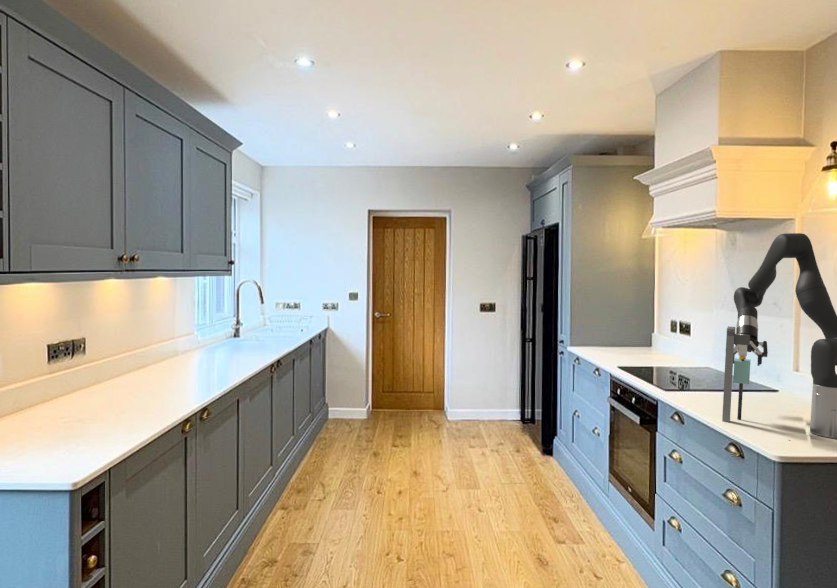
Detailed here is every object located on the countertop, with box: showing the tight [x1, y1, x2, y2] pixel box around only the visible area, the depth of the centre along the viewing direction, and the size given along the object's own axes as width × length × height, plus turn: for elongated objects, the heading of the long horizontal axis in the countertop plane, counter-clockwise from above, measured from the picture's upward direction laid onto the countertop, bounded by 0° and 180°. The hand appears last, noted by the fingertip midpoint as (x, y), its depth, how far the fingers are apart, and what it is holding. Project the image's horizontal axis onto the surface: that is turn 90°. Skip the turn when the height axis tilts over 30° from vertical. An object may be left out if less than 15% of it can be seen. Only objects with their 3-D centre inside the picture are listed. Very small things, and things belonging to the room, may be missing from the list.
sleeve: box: [732, 357, 751, 385], centre depth 209 cm, size 7×5×8 cm
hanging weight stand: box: [721, 326, 750, 423], centre depth 206 cm, size 8×7×35 cm
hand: (745, 363), depth 220 cm, fingers open, 8 cm apart
